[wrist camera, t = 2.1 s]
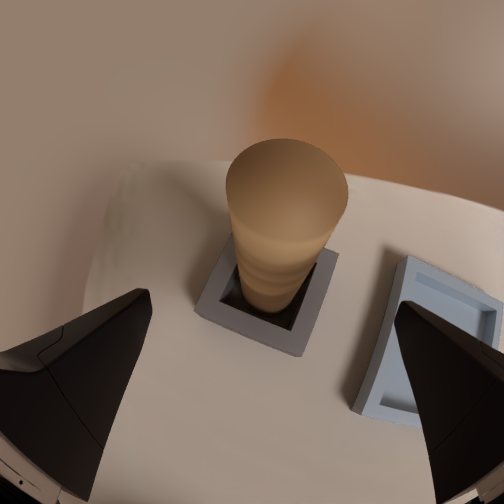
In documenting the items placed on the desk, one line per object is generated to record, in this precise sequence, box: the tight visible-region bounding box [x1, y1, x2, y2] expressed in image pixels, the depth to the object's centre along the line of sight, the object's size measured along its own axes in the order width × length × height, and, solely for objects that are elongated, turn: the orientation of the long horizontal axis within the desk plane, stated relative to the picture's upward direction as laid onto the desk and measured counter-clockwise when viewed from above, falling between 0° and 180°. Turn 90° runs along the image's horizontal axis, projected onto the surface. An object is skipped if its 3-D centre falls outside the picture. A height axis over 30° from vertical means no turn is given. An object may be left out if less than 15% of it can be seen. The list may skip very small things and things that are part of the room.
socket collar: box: [193, 232, 339, 357], centre depth 19 cm, size 7×7×2 cm
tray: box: [351, 255, 504, 428], centre depth 17 cm, size 12×12×2 cm
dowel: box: [226, 139, 348, 316], centre depth 14 cm, size 4×4×13 cm
